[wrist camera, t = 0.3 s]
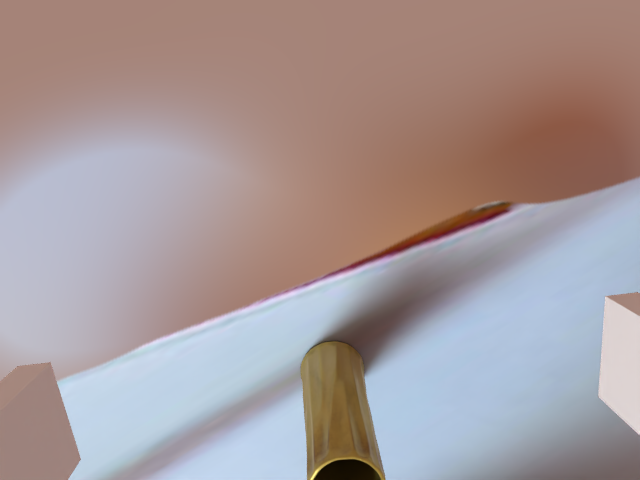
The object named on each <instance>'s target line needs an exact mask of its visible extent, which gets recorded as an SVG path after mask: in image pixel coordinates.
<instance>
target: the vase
mask: <svg viewBox="0 0 640 480" xmlns="http://www.w3.org/2000/svg"><path fill="white" fill-rule="evenodd" d="M301 379H302V382H303V401H304V416H305V429H306V443H307V480H385V473H384V470H383V466H382V461H381V457H380V452H379V448H378V444H377V440H376V436H375V431H374V426H373V421H372V416H371V412H370V408H369V404H368V400H367V394H366V386H365V379H364V363H363V360H362V358H361V356H360V354H359V353H358V352H357V351H356V350H355V349H354V348H353V347H351V346H350V345H348V344H345V343H342V342H337V341H330V342H324V343H321V344H319V345H317V346H315V347H314V348H312V349H311V350H310V351H309V352H308V353H307V354H306V355H305V357H304V359H303V361H302V364H301Z"/></svg>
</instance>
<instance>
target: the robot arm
mask: <svg viewBox="0 0 640 480" xmlns="http://www.w3.org/2000/svg"><path fill="white" fill-rule="evenodd" d="M598 397H599V398H600V399H601V400H602V401H604V402H605V403H606V404H607V405H608V406H609V407H610V408H611V409H612V410H613V411H614V412H615V413H616V414H617V415H618V416H619V417H621V418H622V419H623V420H624V421H625V422H626V423H627V424H628V425H629V426H630V427H631V428H632V429H633V430H634V431H635V432H637V433H638V434H639V435H640V293H638V292H636V293H628V294H619V295H611V296H605V310H604V324H603V338H602V352H601V366H600V380H599V394H598ZM80 460H81V458H80V455H79V452H78V449H77V445H76V442H75V439H74V436H73V433H72V429H71V426H70V423H69V420H68V417H67V413H66V410H65V407H64V404H63V401H62V397H61V394H60V391H59V388H58V385H57V381H56V378H55V375H54V372H53V369H52V366H51V363H50V362H49V363H41V364H33V365H24V366H17V368H15V369H14V370H13V371H12V372H11V373H9V374H8V375H7V376H6V377H5V378H4V379H3V380H2V381H0V480H68V478H69V477H70V475H71V474H72V472H73V471H74V469H75V468H76V466H77V465H78V463H79V461H80Z"/></svg>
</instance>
